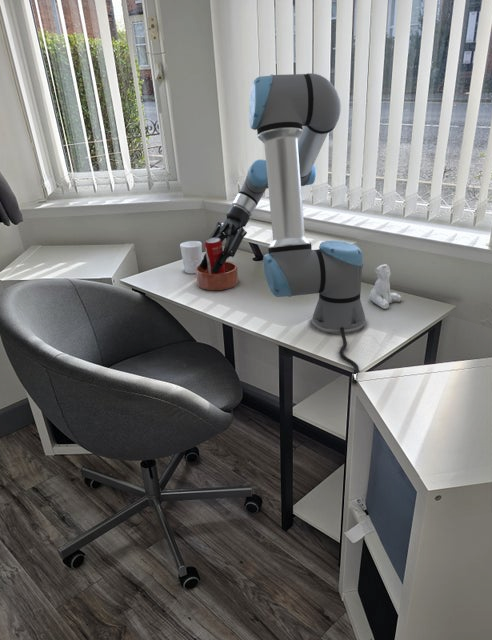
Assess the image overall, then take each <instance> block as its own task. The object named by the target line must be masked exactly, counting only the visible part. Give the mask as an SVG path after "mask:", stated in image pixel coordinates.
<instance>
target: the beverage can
mask: <svg viewBox="0 0 492 640" xmlns="http://www.w3.org/2000/svg"><path fill="white" fill-rule="evenodd" d="M204 248H205V253H206V257H207V264H208V271H209V274H215V273H214V272H213V271H212V270H211V269H212V267H213V266H214V264H215V262H216V260H217V258H218V257H219V255H220V253H222V252H221V251H223V250H224V248H223V242H221V240H220V238H215V237H214V238H209V237H208V238H206V239H205V241H204ZM222 254H223V253H222ZM221 273H225V265H222V267H221V269H220V271H219V272H218V274H221Z"/></svg>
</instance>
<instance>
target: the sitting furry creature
mask: <svg viewBox="0 0 492 640" xmlns="http://www.w3.org/2000/svg"><path fill="white" fill-rule="evenodd" d="M373 270H374V272H375V273H376V276H377V279H376V280H375V284H374V286H373V288H372V289H370V292H369V294H370V296H369V297H370V300H371V302H372V303H373V304H375V305H377V306H378V307H379V308H381V309H383V310H388V308H389V307H390V305H391V304H392V303H394V302H395V303H401V299H402V295H400V294H398V293H397V292H391V283H390V276H391V274H392V273H391V269H390V266H389V265H388V264H386V263H383V264H381V265H378V266H377V267H375V268H374V269H373Z"/></svg>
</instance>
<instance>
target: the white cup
mask: <svg viewBox="0 0 492 640" xmlns="http://www.w3.org/2000/svg"><path fill="white" fill-rule="evenodd" d="M179 249H180V253H181V254H180V255H181V260H182V264H183V270H184V272H185V273H186V274H196V267H197V266H199V265H200V264H201V262H202V260H203V244H202V242H201V241H198V240H187V241H183V242H182V243H180V244H179Z"/></svg>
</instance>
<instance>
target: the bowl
mask: <svg viewBox="0 0 492 640" xmlns="http://www.w3.org/2000/svg"><path fill="white" fill-rule="evenodd" d="M224 265H225V273H221V274H209V271H208V267H207V268H206V270H204V269H202V268H201V267H200V266H197V267H196V273H195V276H196V284H197V286H198V287H199V288H201V289H202V290H206V291H215V292H216V291H225V290H228V289H231V288H233V287H235V286H237V284H238V283H239V275H238V265H237V264H236V262H235V263H234V262H231V261H227V260H226V262H225V263H224Z"/></svg>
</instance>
